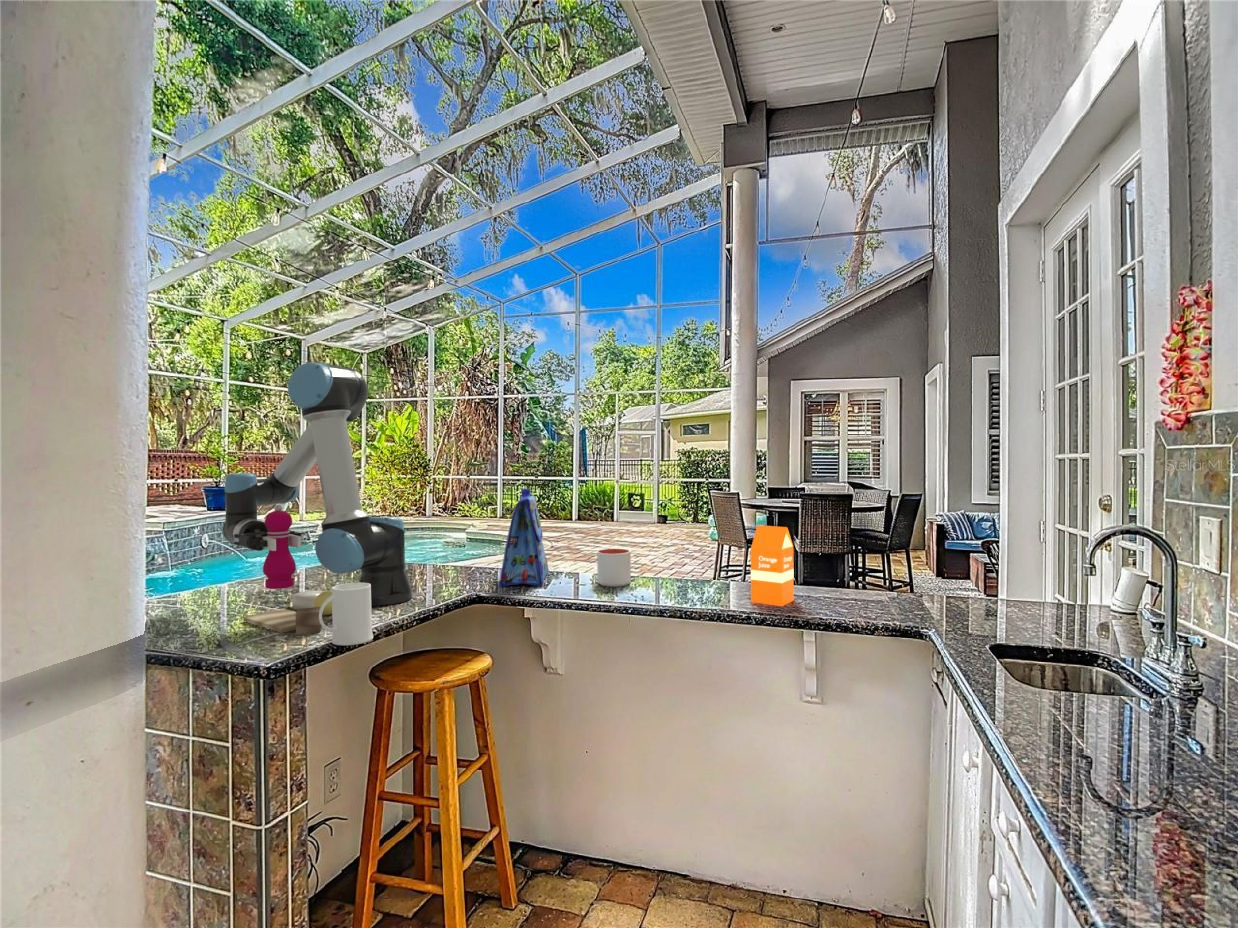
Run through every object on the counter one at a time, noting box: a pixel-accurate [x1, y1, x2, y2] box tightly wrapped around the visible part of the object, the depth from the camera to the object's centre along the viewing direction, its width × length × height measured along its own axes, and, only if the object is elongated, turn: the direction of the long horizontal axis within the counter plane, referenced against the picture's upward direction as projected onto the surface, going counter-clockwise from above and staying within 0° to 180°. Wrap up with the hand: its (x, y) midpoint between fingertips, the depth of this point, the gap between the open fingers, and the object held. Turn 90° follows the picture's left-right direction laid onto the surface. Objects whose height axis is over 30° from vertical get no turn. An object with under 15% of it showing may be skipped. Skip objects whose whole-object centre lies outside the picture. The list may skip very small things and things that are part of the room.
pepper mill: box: [262, 504, 297, 590], centre depth 166 cm, size 7×7×20 cm
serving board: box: [242, 608, 296, 634], centre depth 166 cm, size 18×10×1 cm, turn 54°
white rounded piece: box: [291, 590, 325, 610], centre depth 183 cm, size 8×8×4 cm
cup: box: [596, 548, 632, 588], centre depth 206 cm, size 10×10×10 cm
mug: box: [319, 581, 374, 646], centre depth 149 cm, size 12×8×12 cm
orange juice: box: [750, 524, 795, 607], centre depth 181 cm, size 8×9×20 cm
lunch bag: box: [499, 487, 550, 587], centre depth 214 cm, size 22×14×29 cm, turn 1°
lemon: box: [314, 590, 332, 616], centre depth 173 cm, size 6×6×6 cm
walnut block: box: [295, 607, 322, 636], centre depth 158 cm, size 5×5×5 cm
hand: (287, 543), depth 162 cm, fingers closed on pepper mill, 5 cm apart
